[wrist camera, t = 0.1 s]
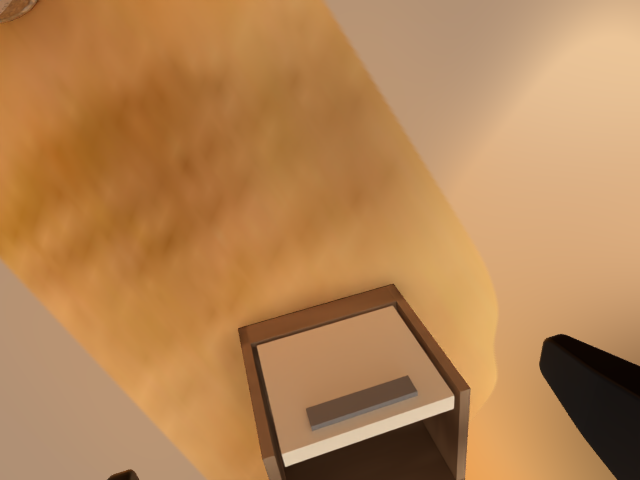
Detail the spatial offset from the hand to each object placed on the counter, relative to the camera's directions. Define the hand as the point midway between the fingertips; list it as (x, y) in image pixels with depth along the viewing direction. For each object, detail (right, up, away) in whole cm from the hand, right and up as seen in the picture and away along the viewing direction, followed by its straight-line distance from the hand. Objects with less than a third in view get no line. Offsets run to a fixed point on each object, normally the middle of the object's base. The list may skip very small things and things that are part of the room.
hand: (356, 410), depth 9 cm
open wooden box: (0, -4, +19) cm, 20 cm away
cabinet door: (0, -1, +16) cm, 16 cm away
